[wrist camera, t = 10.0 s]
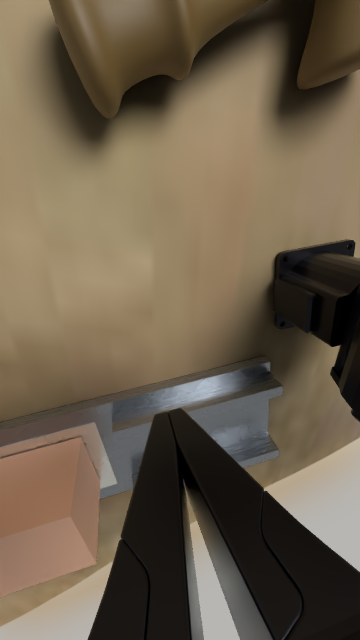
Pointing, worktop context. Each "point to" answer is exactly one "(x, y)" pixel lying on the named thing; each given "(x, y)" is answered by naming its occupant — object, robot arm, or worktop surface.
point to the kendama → (185, 40)
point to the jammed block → (47, 514)
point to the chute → (137, 414)
